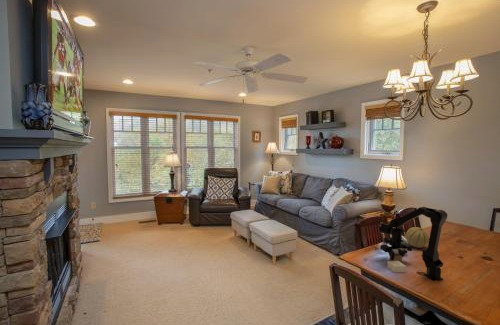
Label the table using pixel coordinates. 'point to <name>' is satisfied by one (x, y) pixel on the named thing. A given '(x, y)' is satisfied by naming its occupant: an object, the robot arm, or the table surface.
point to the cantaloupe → (417, 237)
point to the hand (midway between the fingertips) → (395, 260)
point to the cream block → (396, 266)
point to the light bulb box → (402, 243)
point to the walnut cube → (397, 257)
